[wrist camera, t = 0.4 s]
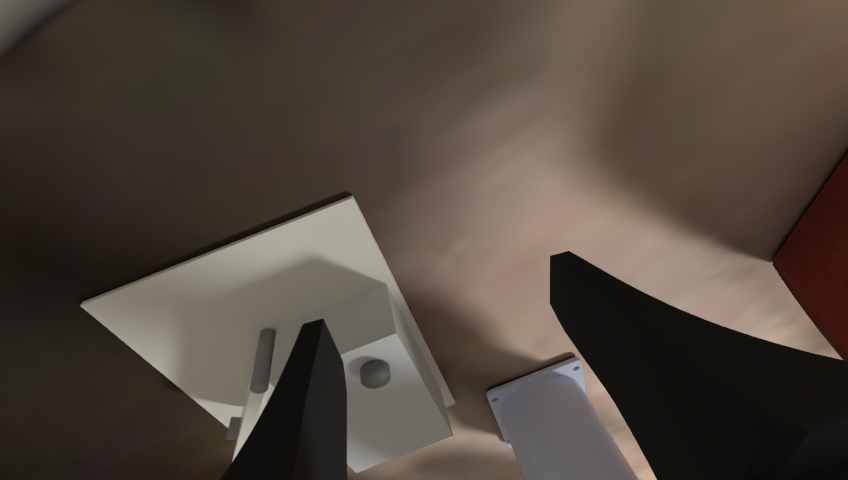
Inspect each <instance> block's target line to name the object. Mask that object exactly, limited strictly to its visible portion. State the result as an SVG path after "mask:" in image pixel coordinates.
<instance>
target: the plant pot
mask: <svg viewBox="0 0 848 480" xmlns="http://www.w3.org/2000/svg"><path fill="white" fill-rule="evenodd" d="M773 266H774V268H775V269H776V270H777V272H778V274H779V275H780V277H781V278H782V280H783V281H784V283H785V284H786V286H787V287H788V289H789V290H790V292H791V293H792V295H793V296H794V297H795V299H796V300H797V301H798V303H799V304H800V306H801V307H802V308H803V310H804V311H805V312H806V314H807V315H808V317H809V318H810V319H811V320H812V322H813V323H814V324H815V326H816V327H817V328H818V330H819V331H820V332H821V333H822V335H823V336H824V337H825V338H826V340H827V341H828V342H829V343H830V344H831V346H832V347H833V348H834V349H835V351H836V352H837V353H838V354H839V355H840V357H841V358H842V359H843V360H844V361H848V154H847V155H846V156H845V158H844V159H843V161H842V162H841V163H840V165H839V166H838V168H837V169H836V170H835V172H834V173H833V175H832V176H831V178H830V179H829V180H828V182H827V183H826V185H825V186H824V187H823V189H822V190H821V192H820V193H819V195H818V196H817V198H816V199H815V200H814V202H813V203H812V205H811V206H810V208H809V209H808V210H807V212H806V213H805V215H804V216H803V217H802V219H801V220H800V222H799V223H798V224H797V226H796V227H795V229H794V230H793V232H792V233H791V234H790V236H789V237H788V239H787V240H786V242H785V243H784V245H783V246H782V247H781V249H780V250H779V252H778V253H777V255H776V256H775V258H774V260H773Z"/></svg>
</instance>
